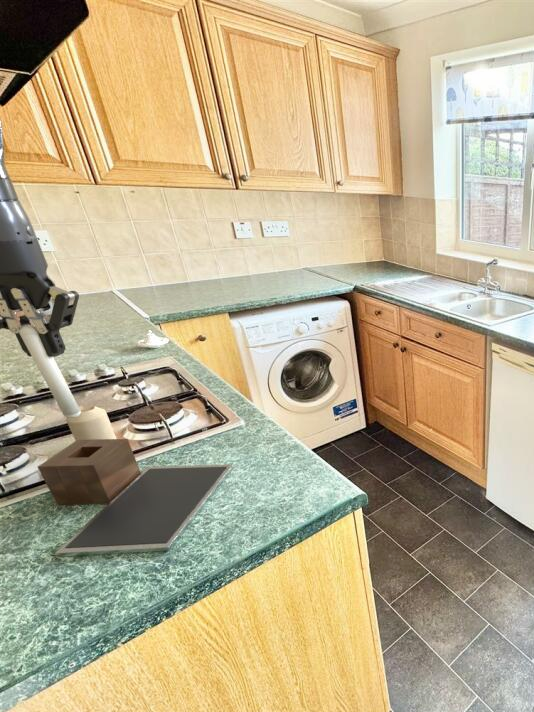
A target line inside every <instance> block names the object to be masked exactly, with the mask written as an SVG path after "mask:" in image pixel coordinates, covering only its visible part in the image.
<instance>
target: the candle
mask: <svg viewBox="0 0 534 712" xmlns="http://www.w3.org/2000/svg"><path fill="white" fill-rule="evenodd" d="M78 407H79V409H80V411H81V413H80V415H79V416H78V417H76V418H72V419H71V418H65V420H66V423H67V425H68V427H69V429H70V432H71V434H72V436H73V438H74V442H75V441H76V440H93V439H118V438H117V436H116V433H115V430H114V429H113V426H112V423H111V421H110V419H109V416H108V413H107V411H106V410H105V409H104V408H102V407H98V406H95V405H93V406H90V405H87V404H84V405H80V406H78Z"/></svg>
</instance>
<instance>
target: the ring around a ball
mask: <svg viewBox="0 0 534 712" xmlns="http://www.w3.org/2000/svg"><path fill="white" fill-rule="evenodd" d="M168 342H169V338H167V337H162V336H157V335H155V333H153V331H152V330H147V333H146V336H145V338H143V339H140V340H138V341H137V342H136V346H138V347H140V348H148V349H157V348H160V347H161V346H163V345H166V344H167V343H168Z"/></svg>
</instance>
